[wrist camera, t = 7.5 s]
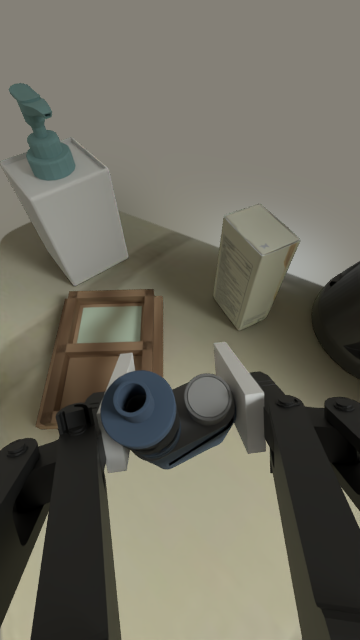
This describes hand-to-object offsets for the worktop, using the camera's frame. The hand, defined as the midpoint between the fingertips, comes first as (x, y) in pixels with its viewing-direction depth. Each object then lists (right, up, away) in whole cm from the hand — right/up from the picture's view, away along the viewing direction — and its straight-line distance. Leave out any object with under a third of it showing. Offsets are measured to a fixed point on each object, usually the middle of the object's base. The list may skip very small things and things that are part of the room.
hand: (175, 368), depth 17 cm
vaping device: (+1, -5, +1) cm, 5 cm away
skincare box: (+8, +5, +18) cm, 20 cm away
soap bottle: (-13, +12, +23) cm, 29 cm away
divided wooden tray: (-8, -1, +14) cm, 16 cm away
